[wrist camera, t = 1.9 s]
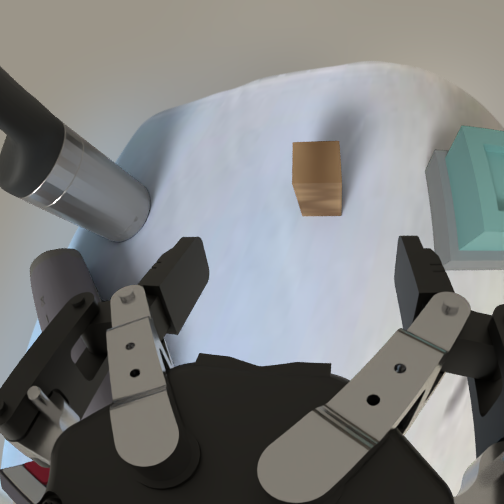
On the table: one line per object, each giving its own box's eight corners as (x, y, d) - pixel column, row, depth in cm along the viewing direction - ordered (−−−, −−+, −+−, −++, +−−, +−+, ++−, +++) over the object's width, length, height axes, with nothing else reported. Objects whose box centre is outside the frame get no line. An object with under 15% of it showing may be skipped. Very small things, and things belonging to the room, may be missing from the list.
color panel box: (121, 482, 33) (49, 517, 19) (119, 501, 32) (52, 537, 18) (69, 447, 36) (-3, 465, 22) (68, 466, 35) (0, 487, 21)
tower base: (435, 270, 30) (476, 243, 20) (425, 171, 33) (449, 115, 22) (518, 269, 27) (571, 245, 16) (503, 177, 30) (542, 131, 19)
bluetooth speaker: (63, 289, 42) (14, 278, 33) (100, 255, 42) (51, 236, 32) (122, 428, 35) (71, 445, 25) (170, 404, 34) (120, 422, 25)
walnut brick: (302, 216, 35) (292, 183, 28) (302, 181, 36) (292, 142, 28) (341, 215, 34) (341, 182, 26) (339, 180, 35) (339, 140, 27)
